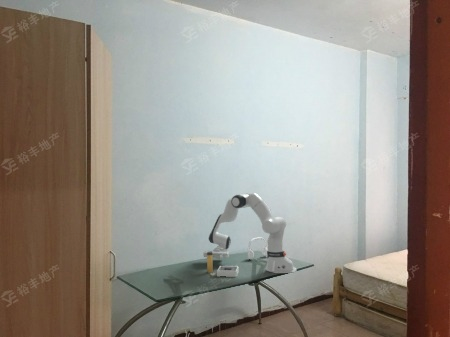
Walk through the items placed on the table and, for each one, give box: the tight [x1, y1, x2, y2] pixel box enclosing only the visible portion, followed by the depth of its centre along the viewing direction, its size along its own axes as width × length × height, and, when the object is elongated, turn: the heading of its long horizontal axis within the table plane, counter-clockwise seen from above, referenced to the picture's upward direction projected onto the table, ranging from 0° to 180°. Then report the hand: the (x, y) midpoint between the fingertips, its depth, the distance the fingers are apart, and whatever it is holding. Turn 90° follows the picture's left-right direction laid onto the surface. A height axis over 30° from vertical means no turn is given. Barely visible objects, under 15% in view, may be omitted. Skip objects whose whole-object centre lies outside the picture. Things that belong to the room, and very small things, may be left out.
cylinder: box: [206, 252, 214, 274], centre depth 250 cm, size 4×4×14 cm
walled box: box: [216, 265, 240, 278], centre depth 244 cm, size 14×13×4 cm
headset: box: [247, 236, 268, 260], centre depth 290 cm, size 20×7×18 cm, turn 122°
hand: (213, 256), depth 261 cm, fingers open, 8 cm apart
